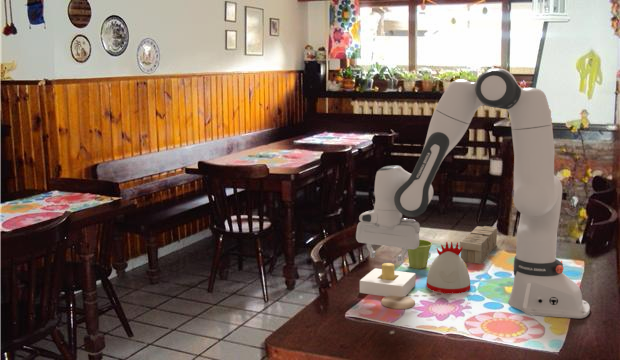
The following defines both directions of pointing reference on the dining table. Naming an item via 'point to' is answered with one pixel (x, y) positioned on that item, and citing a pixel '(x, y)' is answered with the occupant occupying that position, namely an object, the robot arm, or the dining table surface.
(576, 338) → the dining table surface
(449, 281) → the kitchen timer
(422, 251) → the plant pot
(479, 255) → the block tower
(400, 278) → the pocket block
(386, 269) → the dowel
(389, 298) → the coaster
